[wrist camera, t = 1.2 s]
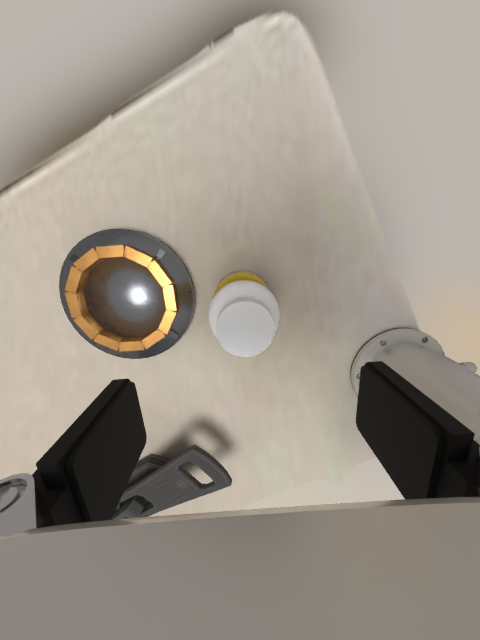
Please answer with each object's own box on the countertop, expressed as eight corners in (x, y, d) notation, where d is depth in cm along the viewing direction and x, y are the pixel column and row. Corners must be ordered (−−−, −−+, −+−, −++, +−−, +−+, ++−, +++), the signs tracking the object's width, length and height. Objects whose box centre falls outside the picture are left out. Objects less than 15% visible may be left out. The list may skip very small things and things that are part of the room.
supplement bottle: (206, 284, 30) (186, 310, 18) (253, 261, 30) (266, 271, 17) (230, 329, 32) (227, 380, 20) (275, 308, 31) (301, 347, 19)
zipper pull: (239, 486, 32) (109, 566, 36) (238, 446, 38) (128, 518, 42) (193, 444, 30) (61, 535, 34) (201, 409, 36) (89, 489, 40)
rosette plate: (186, 225, 28) (180, 222, 25) (201, 349, 33) (198, 359, 30) (51, 234, 28) (30, 233, 25) (86, 357, 33) (71, 368, 30)
